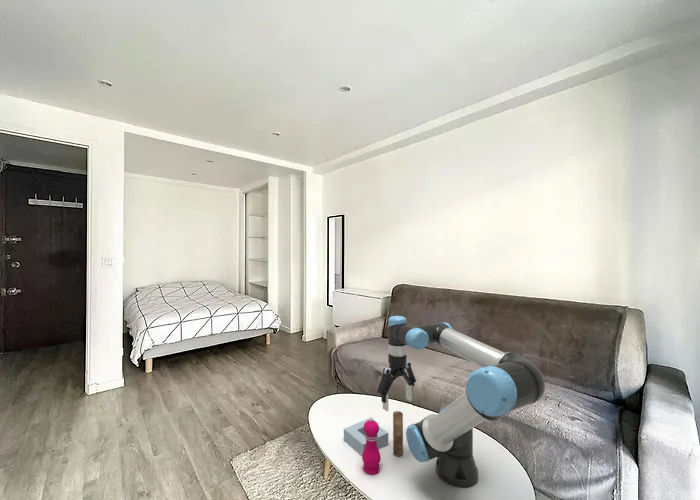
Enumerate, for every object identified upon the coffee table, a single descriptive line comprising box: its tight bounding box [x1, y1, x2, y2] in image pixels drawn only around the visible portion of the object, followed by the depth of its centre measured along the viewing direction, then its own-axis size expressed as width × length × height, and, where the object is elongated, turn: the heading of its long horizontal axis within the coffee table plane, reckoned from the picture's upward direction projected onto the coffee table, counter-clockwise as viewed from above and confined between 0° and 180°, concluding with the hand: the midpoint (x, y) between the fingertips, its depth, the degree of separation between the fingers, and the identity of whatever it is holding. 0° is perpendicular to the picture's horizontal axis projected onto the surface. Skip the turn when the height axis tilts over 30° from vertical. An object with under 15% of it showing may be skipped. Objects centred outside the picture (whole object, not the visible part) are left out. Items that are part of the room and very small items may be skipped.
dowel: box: [392, 410, 404, 457], centre depth 127 cm, size 4×4×17 cm
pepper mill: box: [361, 416, 382, 476], centre depth 118 cm, size 7×7×20 cm
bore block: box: [343, 418, 389, 456], centre depth 135 cm, size 14×14×5 cm
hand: (397, 404), depth 127 cm, fingers open, 13 cm apart
